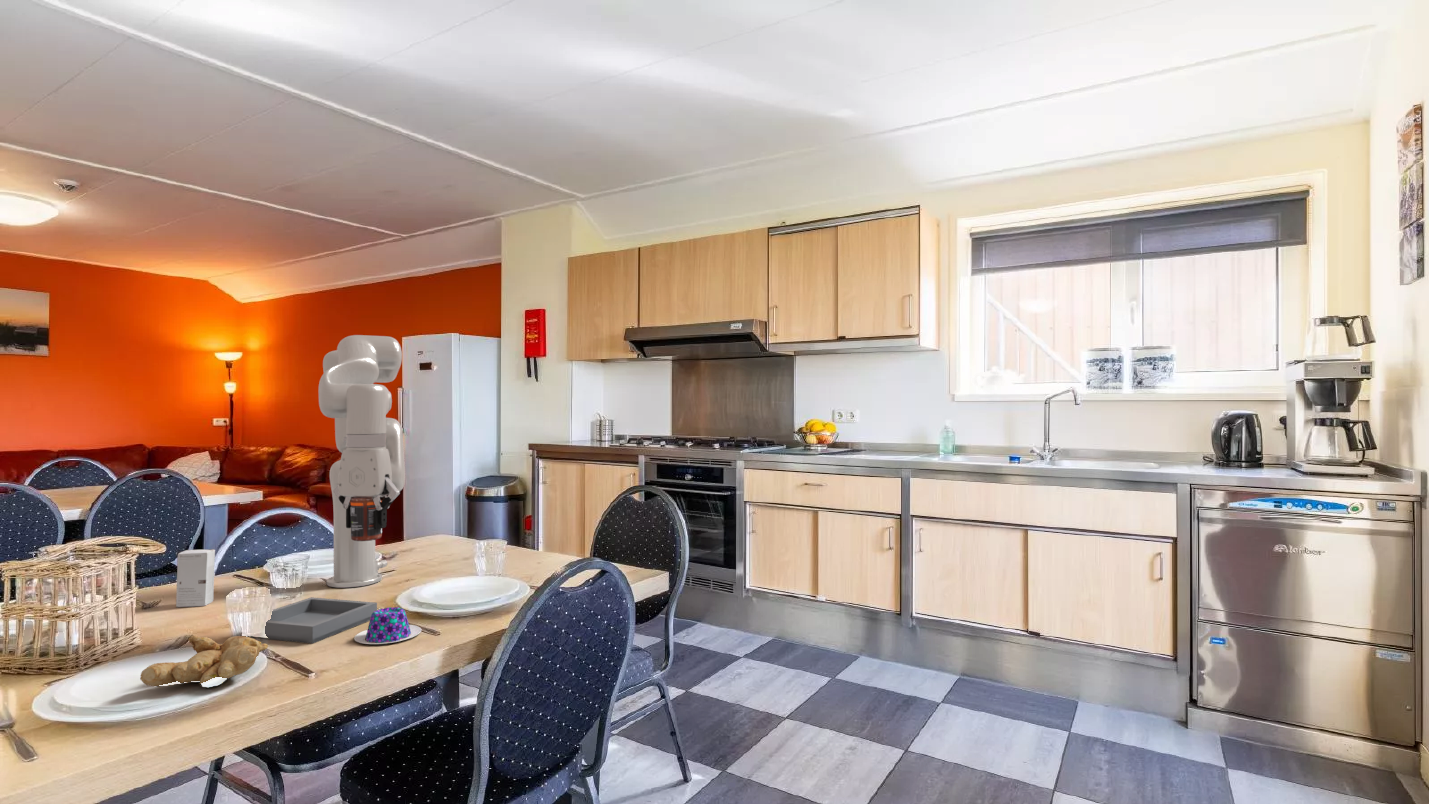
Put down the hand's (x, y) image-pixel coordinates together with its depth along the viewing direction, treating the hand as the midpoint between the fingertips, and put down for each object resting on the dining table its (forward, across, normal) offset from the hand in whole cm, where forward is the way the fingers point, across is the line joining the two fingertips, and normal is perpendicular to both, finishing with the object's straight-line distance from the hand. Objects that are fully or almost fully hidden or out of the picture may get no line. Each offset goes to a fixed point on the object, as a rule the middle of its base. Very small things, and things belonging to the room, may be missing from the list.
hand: (366, 526), depth 151 cm
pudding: (+20, +12, -9) cm, 25 cm away
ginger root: (+20, -1, -34) cm, 39 cm away
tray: (+19, -7, -7) cm, 22 cm away
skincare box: (+20, -46, +1) cm, 50 cm away
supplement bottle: (+3, 0, 0) cm, 3 cm away
